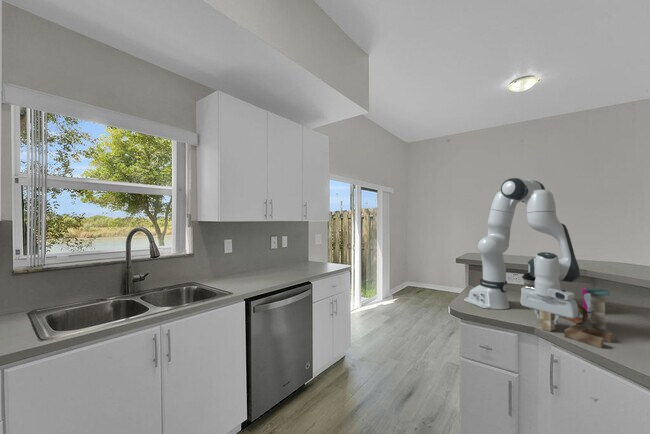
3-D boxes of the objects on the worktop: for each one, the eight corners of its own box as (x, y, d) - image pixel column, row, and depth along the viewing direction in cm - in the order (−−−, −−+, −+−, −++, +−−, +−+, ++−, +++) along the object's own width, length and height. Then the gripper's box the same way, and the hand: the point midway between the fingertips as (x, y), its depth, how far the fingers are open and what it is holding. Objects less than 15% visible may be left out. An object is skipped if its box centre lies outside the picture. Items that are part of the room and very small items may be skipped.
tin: (554, 314, 139) (554, 297, 139) (560, 314, 139) (560, 297, 139) (582, 326, 124) (582, 307, 124) (589, 326, 124) (589, 307, 124)
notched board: (564, 336, 113) (564, 329, 113) (577, 330, 119) (577, 323, 119) (600, 348, 104) (600, 340, 104) (613, 340, 109) (613, 333, 109)
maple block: (539, 328, 122) (539, 310, 122) (544, 326, 124) (544, 308, 124) (550, 331, 118) (550, 312, 118) (555, 329, 120) (554, 311, 120)
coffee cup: (523, 296, 169) (523, 271, 169) (547, 299, 162) (547, 274, 161) (520, 300, 161) (520, 274, 161) (545, 304, 153) (544, 277, 153)
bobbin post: (583, 331, 118) (583, 289, 118) (590, 327, 122) (590, 287, 122) (605, 337, 112) (605, 293, 112) (612, 333, 116) (612, 290, 115)
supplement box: (598, 311, 142) (597, 289, 142) (598, 314, 138) (598, 291, 138) (582, 308, 146) (582, 287, 146) (582, 311, 142) (582, 289, 141)
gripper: (517, 285, 128) (517, 315, 129) (572, 297, 110) (573, 331, 111) (524, 284, 131) (524, 313, 132) (579, 295, 113) (580, 328, 113)
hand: (547, 321), depth 121 cm, fingers closed on maple block, 4 cm apart
